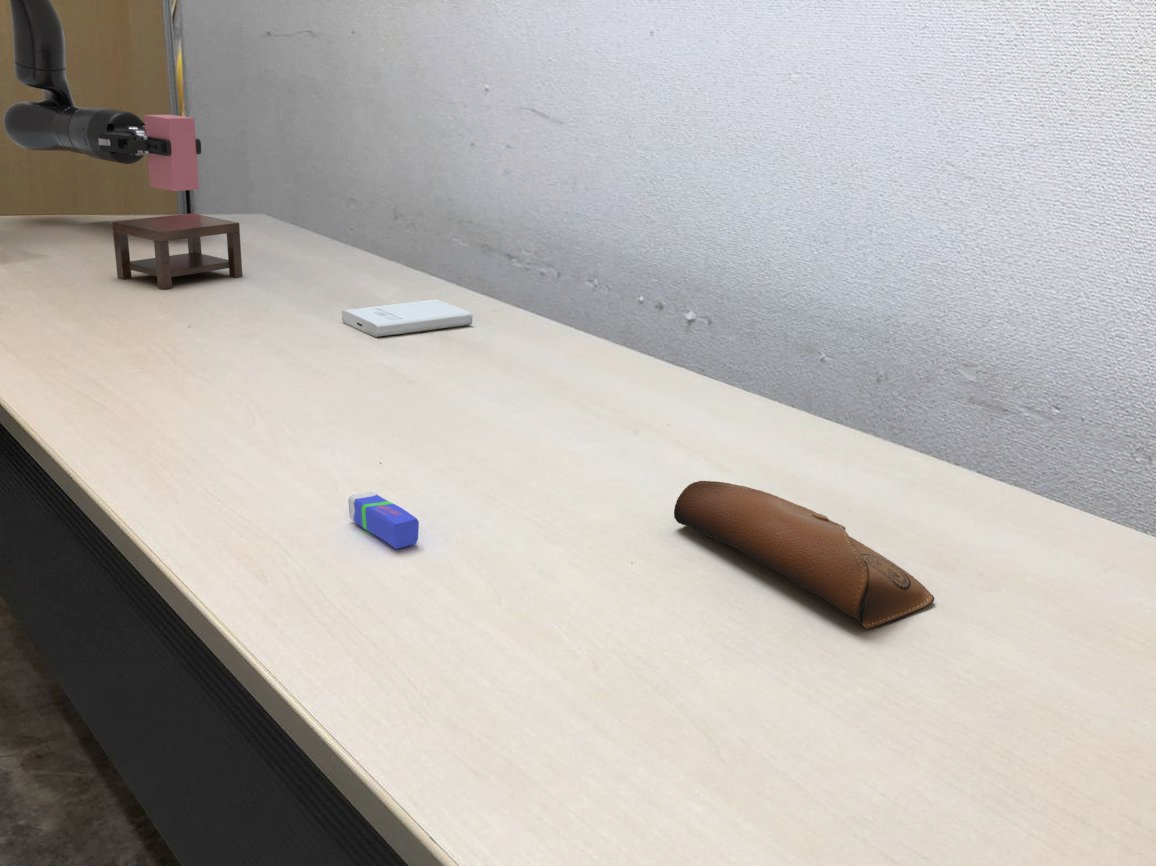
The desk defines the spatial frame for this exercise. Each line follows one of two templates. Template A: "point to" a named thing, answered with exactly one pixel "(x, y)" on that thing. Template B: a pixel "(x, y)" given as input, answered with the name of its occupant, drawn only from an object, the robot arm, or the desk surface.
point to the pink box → (173, 153)
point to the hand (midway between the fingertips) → (184, 147)
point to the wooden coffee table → (175, 230)
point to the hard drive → (406, 317)
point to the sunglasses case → (804, 550)
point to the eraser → (384, 519)
